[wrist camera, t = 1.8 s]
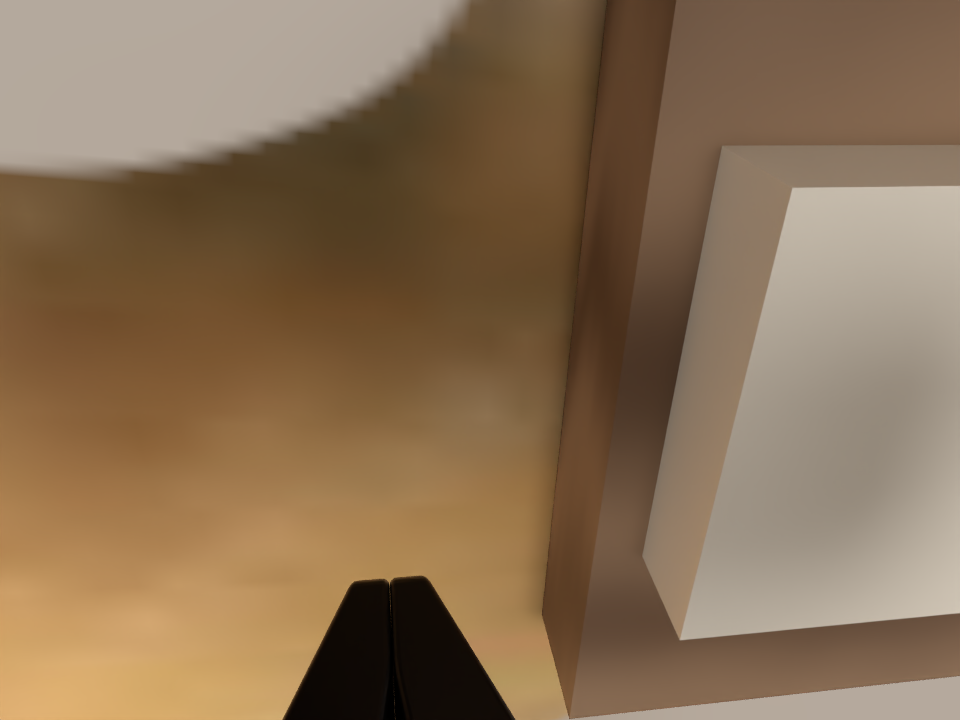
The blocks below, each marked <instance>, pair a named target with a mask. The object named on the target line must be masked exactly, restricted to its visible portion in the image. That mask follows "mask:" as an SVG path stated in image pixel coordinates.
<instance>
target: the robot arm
mask: <svg viewBox="0 0 960 720" xmlns="http://www.w3.org/2000/svg"><path fill="white" fill-rule="evenodd" d="M390 604H391V610H390ZM391 631H392V632H391ZM393 680H394V681H393ZM394 702H395V706H394ZM283 720H515V718H514V717H513V715H512V713H511V712H510V710H509V708H508V707H507V705H506V704H505V702H504V700H503V699H502V697H501V695H500V694H499V692H498V691H497V689H496V687H495V686H494V684H493V683H492V681H491V679H490V678H489V676H488V674H487V673H486V671H485V670H484V668H483V666H482V665H481V663H480V662H479V660H478V658H477V657H476V655H475V653H474V652H473V650H472V649H471V647H470V645H469V644H468V642H467V641H466V639H465V637H464V636H463V634H462V632H461V631H460V629H459V628H458V626H457V624H456V623H455V621H454V619H453V618H452V616H451V615H450V613H449V611H448V610H447V608H446V607H445V605H444V603H443V602H442V600H441V598H440V597H439V595H438V594H437V592H436V590H435V589H434V587H433V586H432V584H431V582H430V581H429V580H428V579H427V578H426V577H424V576H411V577H398V578H394V579H393V580H391V582H390V588H389V583H388V581H387V580H385V579H373V580H361V581H355V582H353V583H352V584H351V585H350V587H349V588H348V590H347V592H346V594H345V596H344V598H343V600H342V602H341V604H340V606H339V608H338V610H337V612H336V614H335V616H334V618H333V620H332V622H331V624H330V626H329V628H328V630H327V632H326V634H325V636H324V638H323V640H322V642H321V644H320V646H319V648H318V650H317V652H316V654H315V656H314V658H313V660H312V662H311V664H310V666H309V668H308V670H307V672H306V674H305V676H304V678H303V680H302V682H301V684H300V686H299V688H298V690H297V692H296V694H295V696H294V698H293V700H292V702H291V704H290V706H289V708H288V710H287V712H286V714H285V716H284V718H283Z"/></svg>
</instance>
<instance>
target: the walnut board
mask: <svg viewBox="0 0 960 720" xmlns="http://www.w3.org/2000/svg"><path fill="white" fill-rule="evenodd" d="M760 145H960V0H607V10H606V19H605V28H604V38H603V47H602V57H601V66H600V75H599V85H598V94H597V104H596V113H595V122H594V132H593V141H592V151H591V160H590V169H589V179H588V188H587V197H586V207H585V216H584V226H583V235H582V244H581V254H580V263H579V273H578V282H577V291H576V301H575V310H574V320H573V329H572V338H571V348H570V357H569V367H568V376H567V385H566V395H565V404H564V414H563V423H562V432H561V442H560V451H559V461H558V470H557V479H556V489H555V498H554V508H553V517H552V526H551V536H550V545H549V555H548V564H547V573H546V583H545V592H544V602H543V611H542V616H543V620H544V624H545V627H546V631H547V635H548V639H549V643H550V646H551V650H552V654H553V658H554V662H555V666H556V669H557V673H558V677H559V681H560V685H561V689H562V692H563V696H564V700H565V704H566V708H567V711H568V715H569V719H572V718H581V717H590V716H599V715H608V714H616V713H617V714H618V713H627V712H636V711H645V710H653V709H663V708H672V707H681V706H689V705H698V704H708V703H718V702H727V701H736V700H745V699H753V698H763V697H772V696H781V695H790V694H799V693H809V692H818V691H827V690H836V689H845V688H853V687H863V686H871V685H881V684H890V683H899V682H908V681H918V680H926V679H935V678H945V677H954V676H960V613H956V614H945V615H935V616H925V617H914V618H904V619H894V620H884V621H873V622H863V623H853V624H843V625H832V626H822V627H812V628H801V629H791V630H781V631H771V632H760V633H750V634H740V635H730V636H719V637H709V638H699V639H688V640H679V638H678V635H677V633H676V631H675V629H674V626H673V624H672V622H671V620H670V617H669V615H668V613H667V611H666V608H665V606H664V604H663V602H662V600H661V597H660V595H659V593H658V591H657V588H656V586H655V584H654V582H653V579H652V577H651V575H650V573H649V570H648V568H647V566H646V564H645V561H644V559H643V557H642V555H643V550H644V545H645V540H646V534H647V529H648V524H649V519H650V514H651V509H652V504H653V498H654V493H655V488H656V483H657V478H658V473H659V468H660V462H661V457H662V452H663V447H664V442H665V437H666V432H667V426H668V421H669V416H670V411H671V406H672V401H673V396H674V390H675V385H676V380H677V375H678V370H679V365H680V360H681V354H682V349H683V344H684V339H685V334H686V329H687V324H688V318H689V313H690V308H691V303H692V298H693V293H694V288H695V282H696V277H697V272H698V267H699V262H700V257H701V252H702V246H703V241H704V236H705V231H706V226H707V221H708V216H709V210H710V205H711V200H712V195H713V190H714V185H715V180H716V174H717V169H718V164H719V159H720V154H721V149H722V146H760Z"/></svg>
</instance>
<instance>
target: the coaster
mask: <svg viewBox="0 0 960 720" xmlns="http://www.w3.org/2000/svg"><path fill="white" fill-rule="evenodd" d="M642 557H643V559H644V561H645V564H646V566H647V568H648V570H649V573H650V575H651V577H652V579H653V582H654V584H655V586H656V588H657V591H658V593H659V595H660V597H661V600H662V602H663V604H664V606H665V608H666V611H667V613H668V615H669V617H670V620H671V622H672V624H673V626H674V629H675V631H676V633H677V635H678V638H679V640H688V639H699V638H709V637H719V636H730V635H740V634H750V633H760V632H771V631H781V630H791V629H801V628H812V627H822V626H832V625H843V624H853V623H863V622H873V621H884V620H894V619H904V618H914V617H925V616H935V615H945V614H956V613H960V145H760V146H722V149H721V154H720V159H719V164H718V169H717V174H716V180H715V185H714V190H713V195H712V200H711V205H710V210H709V216H708V221H707V226H706V231H705V236H704V241H703V246H702V252H701V257H700V262H699V267H698V272H697V277H696V282H695V288H694V293H693V298H692V303H691V308H690V313H689V318H688V324H687V329H686V334H685V339H684V344H683V349H682V354H681V360H680V365H679V370H678V375H677V380H676V385H675V390H674V396H673V401H672V406H671V411H670V416H669V421H668V426H667V432H666V437H665V442H664V447H663V452H662V457H661V462H660V468H659V473H658V478H657V483H656V488H655V493H654V498H653V504H652V509H651V514H650V519H649V524H648V529H647V534H646V540H645V545H644V550H643V555H642Z"/></svg>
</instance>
